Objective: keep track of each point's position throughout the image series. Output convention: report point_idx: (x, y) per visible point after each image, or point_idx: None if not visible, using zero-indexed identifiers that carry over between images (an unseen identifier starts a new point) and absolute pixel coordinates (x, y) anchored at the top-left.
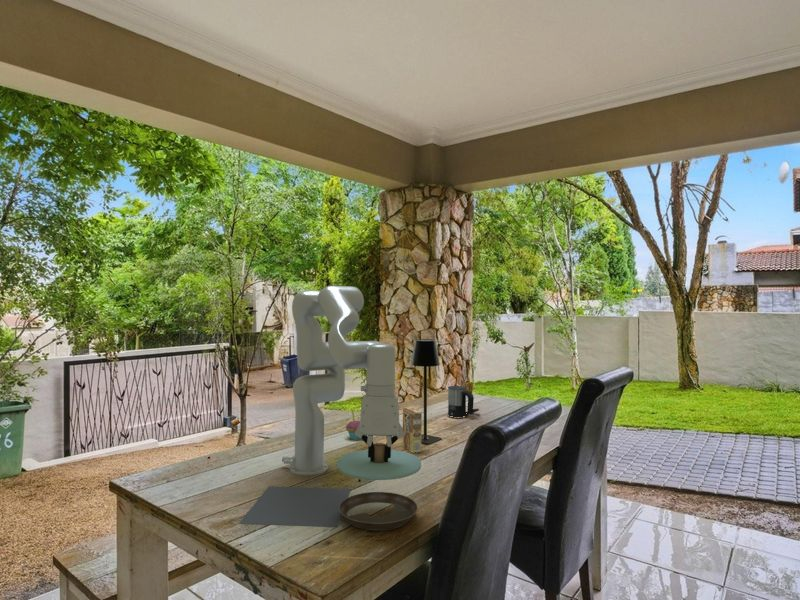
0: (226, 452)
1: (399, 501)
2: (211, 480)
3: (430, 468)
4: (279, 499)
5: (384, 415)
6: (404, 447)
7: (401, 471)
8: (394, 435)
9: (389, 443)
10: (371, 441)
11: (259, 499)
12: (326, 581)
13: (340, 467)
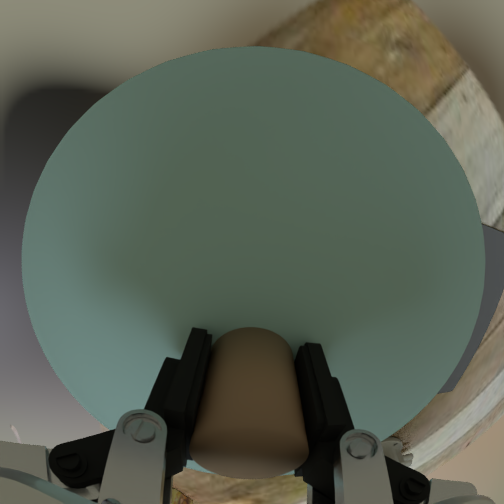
0: (446, 461)
1: None
2: (495, 391)
3: None
4: None
5: None
6: (189, 499)
7: (103, 138)
8: (85, 496)
9: (138, 440)
10: (345, 470)
11: (480, 339)
12: None
13: (484, 256)
